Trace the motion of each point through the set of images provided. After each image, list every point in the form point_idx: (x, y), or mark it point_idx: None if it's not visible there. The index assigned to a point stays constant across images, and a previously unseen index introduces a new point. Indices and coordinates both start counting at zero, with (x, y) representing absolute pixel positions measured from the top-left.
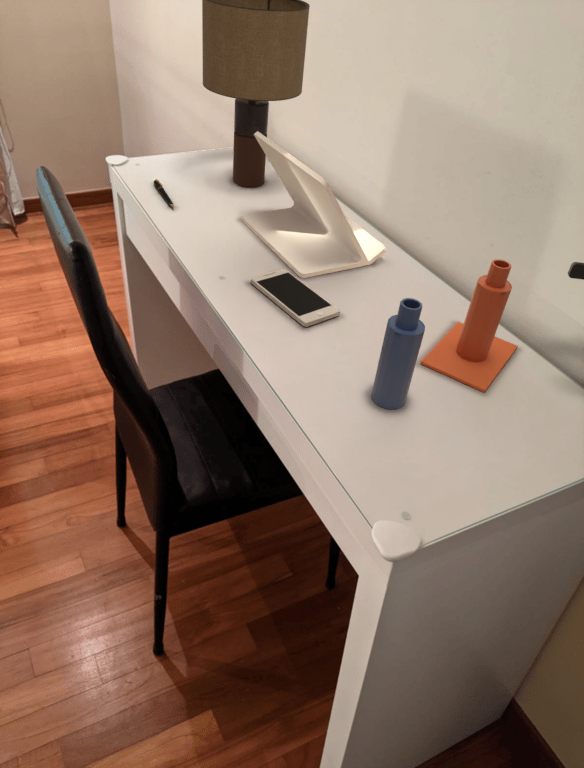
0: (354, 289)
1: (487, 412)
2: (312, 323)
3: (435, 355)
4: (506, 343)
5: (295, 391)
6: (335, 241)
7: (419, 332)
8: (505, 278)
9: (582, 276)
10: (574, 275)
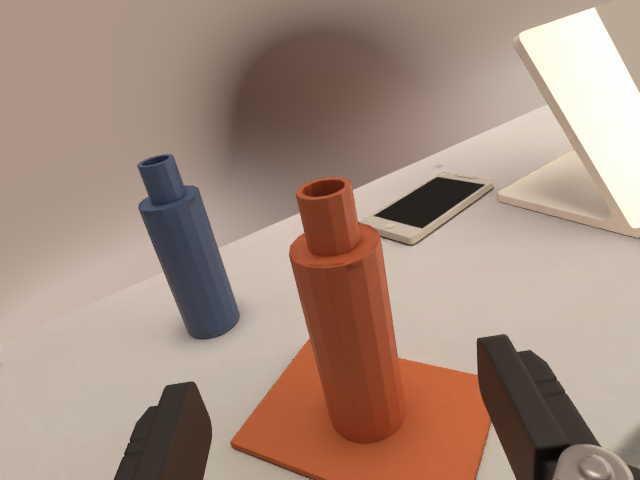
0: (513, 242)
1: None
2: None
3: None
4: None
5: (226, 254)
6: None
7: (144, 208)
8: (306, 227)
9: (502, 434)
10: (487, 398)
